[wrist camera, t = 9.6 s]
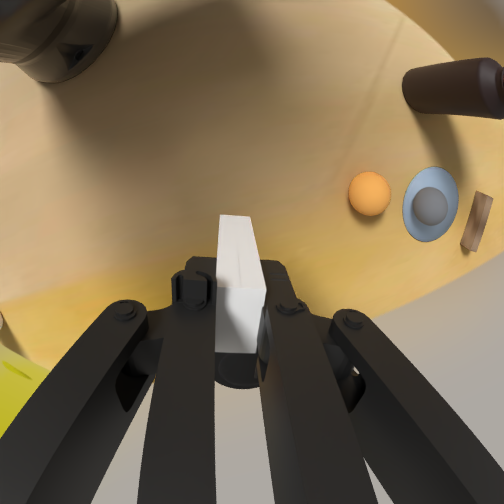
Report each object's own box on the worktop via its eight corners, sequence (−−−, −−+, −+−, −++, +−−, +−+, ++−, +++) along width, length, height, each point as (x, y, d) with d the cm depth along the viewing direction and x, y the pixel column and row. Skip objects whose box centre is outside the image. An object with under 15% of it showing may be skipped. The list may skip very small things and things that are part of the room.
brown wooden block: (476, 190, 36) (487, 195, 33) (482, 193, 36) (493, 198, 33) (460, 243, 40) (470, 250, 37) (466, 245, 40) (476, 252, 37)
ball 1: (403, 185, 29) (389, 177, 34) (362, 169, 29) (352, 162, 34) (387, 227, 31) (375, 213, 36) (346, 213, 31) (339, 201, 36)
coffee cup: (238, 242, 37) (243, 311, 23) (286, 284, 40) (312, 360, 27) (192, 288, 39) (177, 366, 26) (241, 323, 42) (246, 403, 29)
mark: (414, 156, 33) (414, 157, 33) (464, 178, 35) (465, 179, 35) (393, 235, 38) (393, 235, 38) (444, 245, 40) (445, 246, 40)
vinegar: (394, 96, 30) (511, 93, 12) (408, 59, 27) (517, 40, 9) (428, 122, 31) (540, 140, 13) (441, 86, 29) (547, 88, 11)
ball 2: (441, 190, 29) (458, 197, 31) (411, 179, 34) (430, 185, 36) (430, 230, 31) (447, 232, 34) (401, 216, 36) (420, 218, 38)
